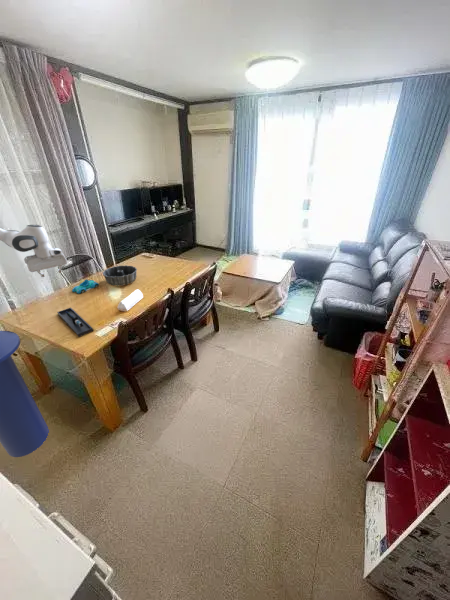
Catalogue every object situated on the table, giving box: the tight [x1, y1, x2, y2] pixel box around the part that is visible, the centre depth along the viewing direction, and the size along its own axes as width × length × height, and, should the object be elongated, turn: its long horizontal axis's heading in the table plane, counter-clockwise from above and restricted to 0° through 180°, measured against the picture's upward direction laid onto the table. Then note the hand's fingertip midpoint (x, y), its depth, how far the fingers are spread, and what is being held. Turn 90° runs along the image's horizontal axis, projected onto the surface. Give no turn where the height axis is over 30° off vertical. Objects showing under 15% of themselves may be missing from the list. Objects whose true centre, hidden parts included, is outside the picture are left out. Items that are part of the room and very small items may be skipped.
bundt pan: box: [102, 264, 138, 287], centre depth 210 cm, size 26×26×10 cm
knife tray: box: [57, 307, 94, 338], centre depth 158 cm, size 8×35×2 cm, turn 47°
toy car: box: [71, 279, 100, 295], centre depth 199 cm, size 11×18×7 cm, turn 151°
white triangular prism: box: [116, 288, 144, 312], centre depth 178 cm, size 7×7×24 cm
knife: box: [66, 311, 83, 327], centre depth 157 cm, size 31×3×4 cm, turn 43°
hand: (51, 274), depth 156 cm, fingers open, 8 cm apart
